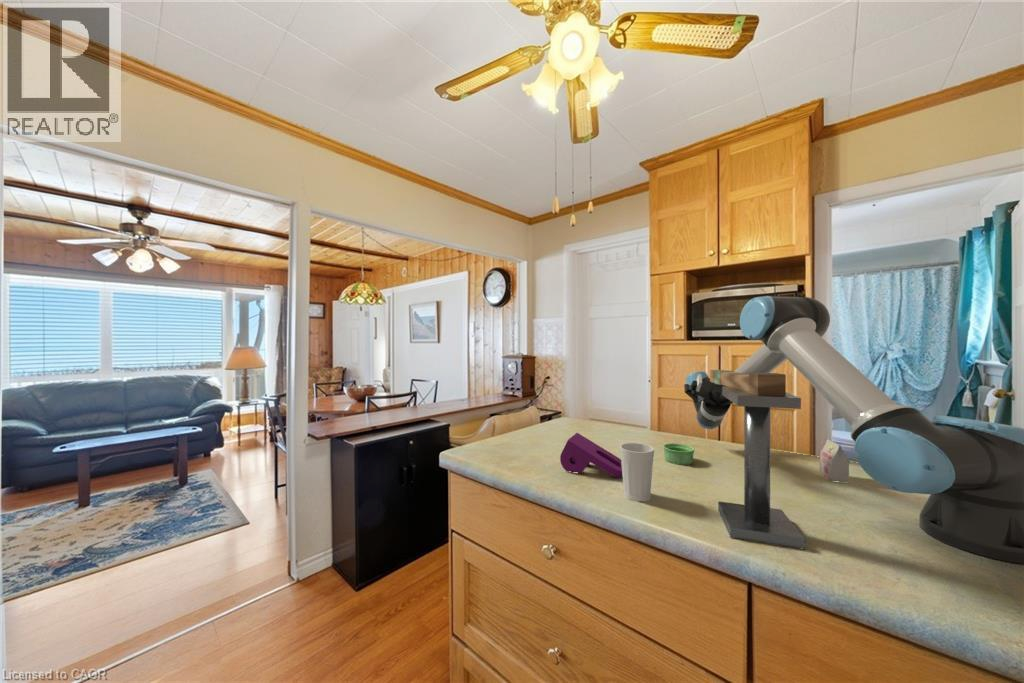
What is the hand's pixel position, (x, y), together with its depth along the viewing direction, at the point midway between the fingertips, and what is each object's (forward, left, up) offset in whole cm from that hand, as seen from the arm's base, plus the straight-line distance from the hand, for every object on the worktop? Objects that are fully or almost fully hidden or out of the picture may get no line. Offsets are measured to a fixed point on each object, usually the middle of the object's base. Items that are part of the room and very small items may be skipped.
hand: (727, 379), depth 99 cm
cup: (+6, +30, -28) cm, 41 cm away
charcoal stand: (-17, +21, -28) cm, 39 cm away
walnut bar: (-12, +18, 0) cm, 21 cm away
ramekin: (+17, -2, -28) cm, 33 cm away
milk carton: (-14, -26, -28) cm, 41 cm away
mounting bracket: (+24, +26, -28) cm, 45 cm away
